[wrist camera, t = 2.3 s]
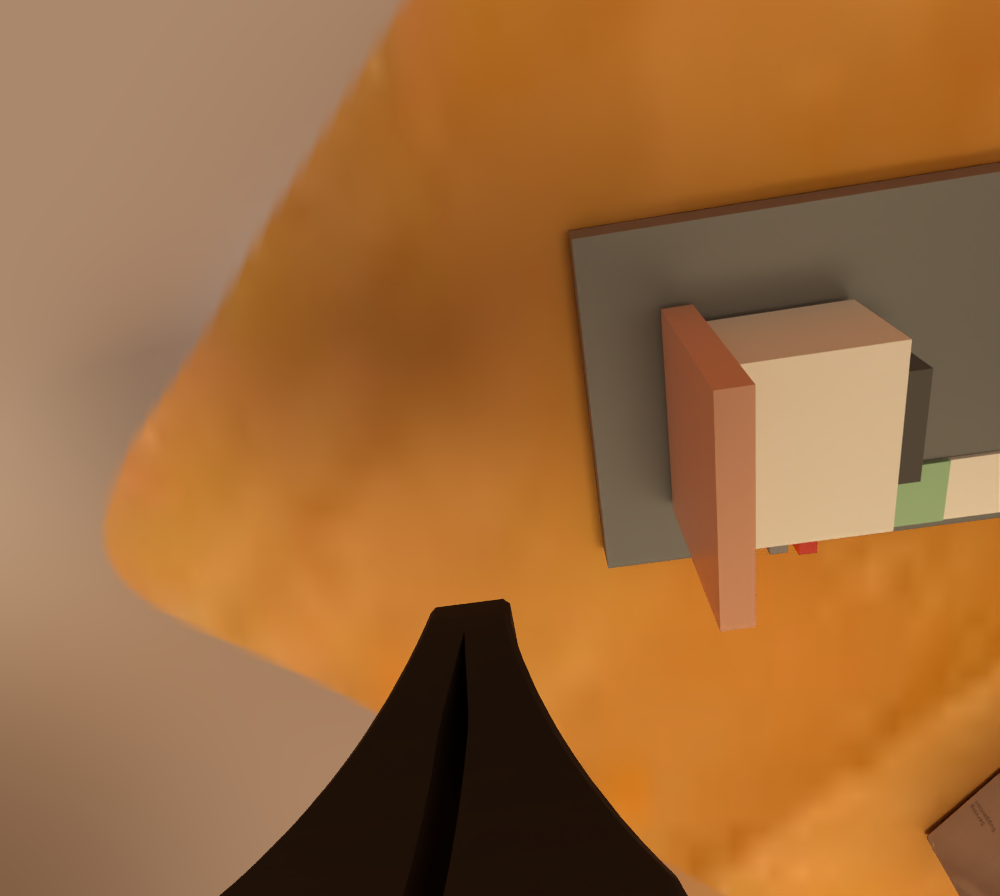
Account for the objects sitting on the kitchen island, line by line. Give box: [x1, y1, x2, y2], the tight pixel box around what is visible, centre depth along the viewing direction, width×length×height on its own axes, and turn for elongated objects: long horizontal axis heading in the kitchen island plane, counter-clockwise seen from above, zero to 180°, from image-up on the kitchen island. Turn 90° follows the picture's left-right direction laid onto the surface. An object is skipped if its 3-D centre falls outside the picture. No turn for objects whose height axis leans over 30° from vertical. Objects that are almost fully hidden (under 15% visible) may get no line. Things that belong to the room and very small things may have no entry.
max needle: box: [793, 541, 817, 555], centre depth 22 cm, size 1×2×1 cm, turn 8°
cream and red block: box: [661, 299, 933, 631], centre depth 18 cm, size 6×8×5 cm
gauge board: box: [568, 162, 1000, 568], centre depth 19 cm, size 16×10×6 cm, turn 99°
